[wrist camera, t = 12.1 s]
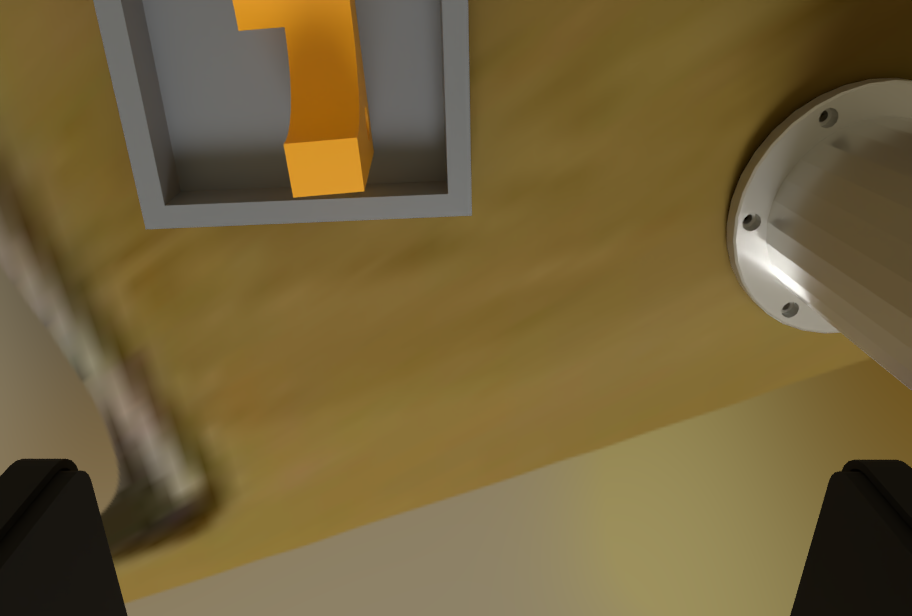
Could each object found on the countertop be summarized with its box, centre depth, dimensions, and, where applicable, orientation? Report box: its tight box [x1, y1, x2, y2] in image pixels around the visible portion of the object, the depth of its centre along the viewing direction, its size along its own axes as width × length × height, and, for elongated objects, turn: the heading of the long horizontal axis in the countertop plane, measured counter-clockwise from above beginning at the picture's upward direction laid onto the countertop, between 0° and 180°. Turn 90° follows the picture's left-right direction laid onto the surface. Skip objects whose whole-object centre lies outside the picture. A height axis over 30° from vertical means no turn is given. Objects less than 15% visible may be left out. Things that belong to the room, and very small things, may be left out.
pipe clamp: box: [232, 0, 374, 198], centre depth 25 cm, size 12×4×6 cm, turn 4°
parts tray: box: [93, 0, 472, 229], centre depth 27 cm, size 14×17×3 cm
